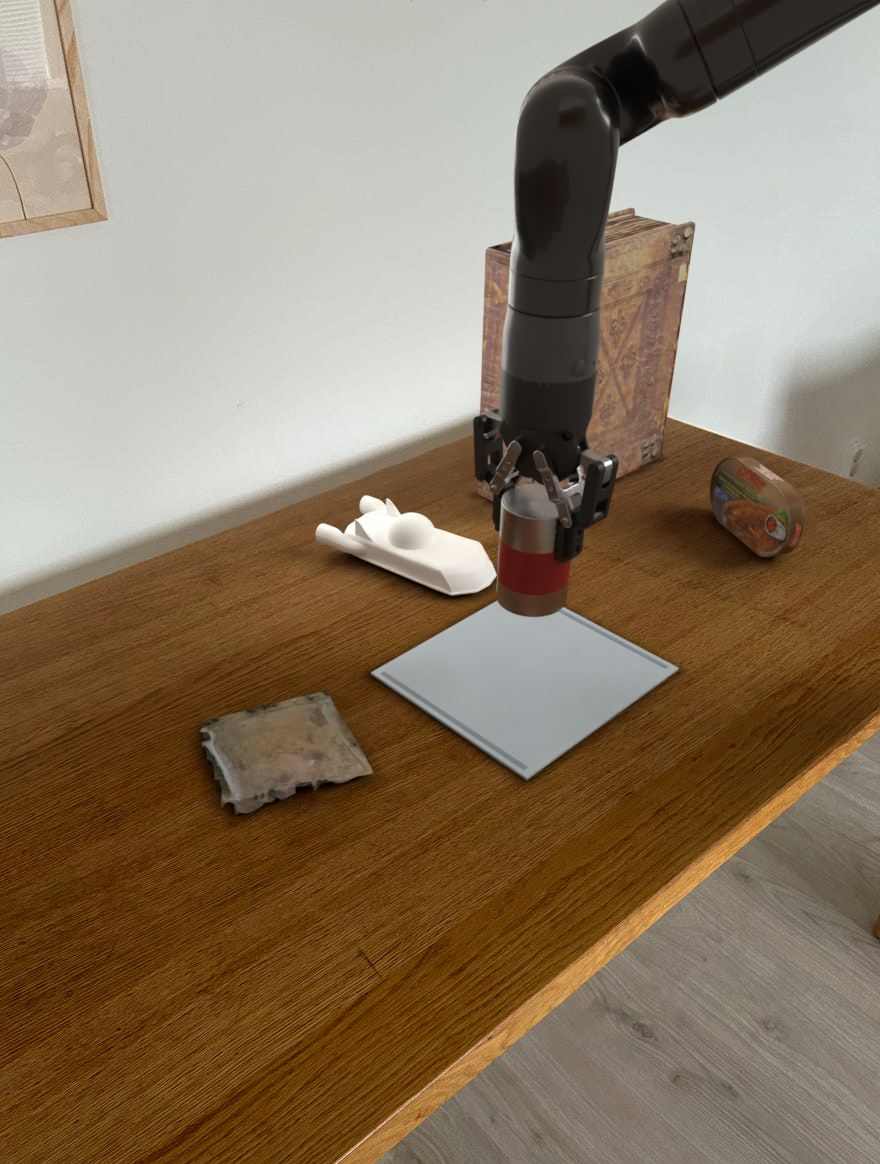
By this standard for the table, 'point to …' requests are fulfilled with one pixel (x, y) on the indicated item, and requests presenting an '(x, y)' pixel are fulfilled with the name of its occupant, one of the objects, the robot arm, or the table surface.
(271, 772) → the parchment
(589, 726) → the square board
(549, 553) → the can
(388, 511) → the white toy spaceship
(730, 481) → the tin
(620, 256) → the book
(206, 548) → the table surface
